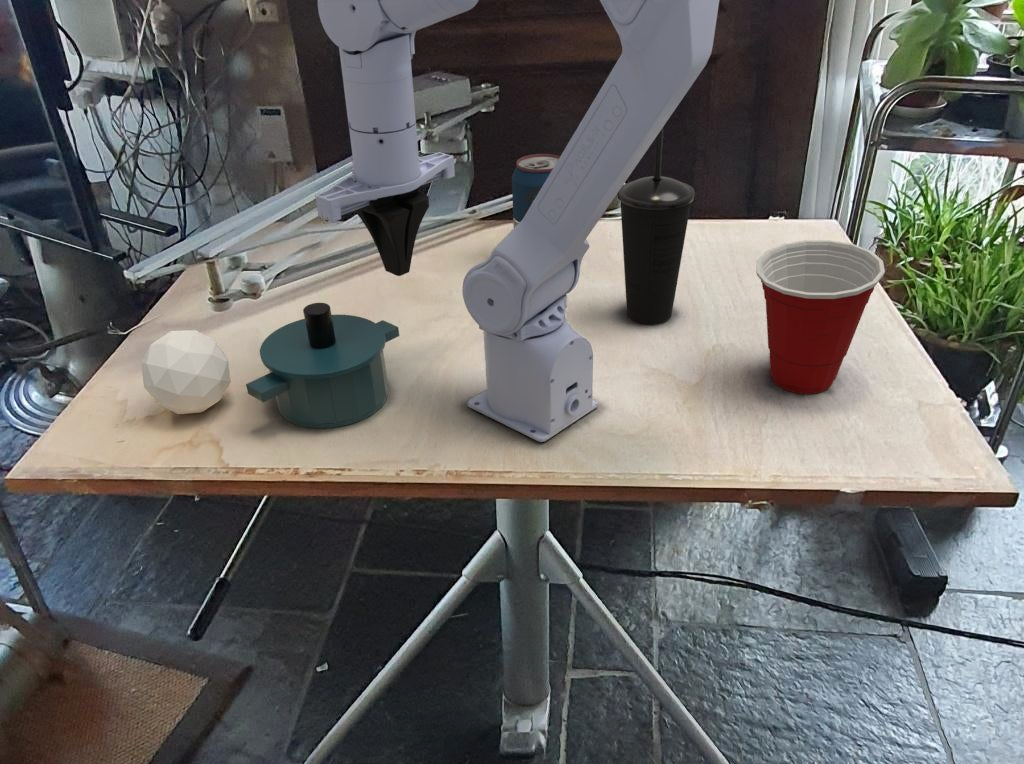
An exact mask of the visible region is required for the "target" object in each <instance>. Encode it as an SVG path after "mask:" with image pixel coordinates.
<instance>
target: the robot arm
mask: <svg viewBox="0 0 1024 764" xmlns="http://www.w3.org/2000/svg"><path fill="white" fill-rule="evenodd" d="M479 1H480V0H317V10H318V11H317V12H318V17H319V20H320V23H321V25H322V27H323V30H324V32H325V33H326V35H327V36H328V38H329V39H330V41H331V42H332V43H333V44H334V45H336V46H337V47H338V52H339V59H340V68H341V77H342V83H343V91H344V99H345V107H346V108H345V109H346V115H347V116H346V117H347V123H348V130H349V138H350V140H349V141H350V146H351V147H350V148H351V156H352V163H353V167H352V168H351V172H352V174H351V175H349V176H348V177H346V178H345V179H343V180H341V181H339V182H338V183H336V184H335V185H333V186H332V187H330V188H328V189H326V190H324V191H322V192H320V193H317V194H315V195H314V199H315V204H316V212H317V216H318V218H321V219H323V220H326V221H327V222H331V223H335V222H338V221H340V220H341V219H342V216H343V215H346V214H349V213H351V212H355V213H356V215H357V216H358V218H359V219H360V220H361V222H362V223H363V224H364V226H365V228H366V229H367V231H368V233H369V234H370V236H371V238H372V240H373V242H374V244H375V246H376V249H377V252H378V254H379V256H380V260H381V262H382V265H383V268H384V270H385V272H388V273H389V274H392V275H394V276H397V277H401V276H404V275H406V274H408V273H410V270H411V264H412V259H413V253H414V247H415V243H416V239H417V235H418V232H419V229H420V227H421V223H422V221H423V219H424V217H425V215H426V213H427V211H428V209H429V208H430V200H429V196H428V194H426V193H424V192H423V193H422V192H421V191H419V188H420V187H421V186H424V185H427V184H430V183H432V182H435V181H437V180H440V179H444V180H450V179H452V178H454V177H456V172H455V171H456V169H455V157H454V155H451V154H447V153H443V152H440V151H438V152H435V153H432V154H427V155H424V156H420V155H419V154H420V153H419V142H418V131H417V118H416V106H415V105H416V104H415V95H414V94H415V93H414V81H413V73H412V72H413V68H412V60H413V55H415V54H416V50H415V49H416V48H415V36H416V33H417V31H419V30H421V29H425V28H427V27H430V26H432V25H435V24H437V23H440V22H442V21H444V20H447V19H450V18H453V17H455V16H458V15H461V14H463V13H465V12H466V13H467V12H468V11H470V10H472V9H473V8H474V7H476V5H477V4H478V2H479ZM599 2H600V4H601V5H602V7H603V9H604V11H605V12H606V14H607V16H608V18H609V20H610V22H611V23H612V26H613V27H614V29H615V31H616V33H617V35H618V38H619V40H620V44H621V48H622V50H621V51H622V52H621V54H620V56H619V58H618V59H617V61H616V63H615V64H614V66H613V67H612V69H611V70H610V72H609V74H608V76H607V77H606V79H605V81H604V83H603V85H602V86H601V88H600V89H599V91H598V93H597V94H596V97H595V98H594V99H593V101H592V102H591V104H590V106H589V107H588V110H586V113H585V115H583V117H582V120H581V121H580V122H579V124H578V125H577V128H576V130H575V131H574V133H573V134H572V136H571V137H570V139H569V141H568V143H567V144H566V146H565V148H564V150H563V151H562V152H561V155H559V156H560V158H559V160H558V161H557V163H556V165H555V166H554V168H553V170H552V171H551V173H550V175H549V176H548V178H547V180H546V181H545V183H544V185H543V186H542V188H541V190H540V191H539V193H538V195H537V196H536V198H535V200H534V201H533V203H532V205H531V206H530V208H529V210H528V211H527V213H526V215H525V216H524V218H523V220H522V221H521V222H520V223H519V224H518V225H517V226H516V227H515V228H514V227H513V229H512V230H511V231H510V232H509V233H508V234H507V235H506V236H504V238H502V239H501V241H500V242H499V243H498V244H497V245H496V246H495V247H494V249H493V250H492V252H491V253H490V255H489V257H488V258H487V259H486V260H484V261H482V262H480V263H477V264H475V265H473V266H472V267H471V268H470V269H469V270H468V271H467V272H466V274H465V276H464V278H463V280H462V298H463V299H462V300H463V303H464V305H465V307H466V310H467V312H468V313H469V315H470V317H471V318H472V320H473V321H474V322H475V323H476V324H477V325H478V329H479V330H480V331H482V332H483V348H484V349H483V350H484V363H485V365H484V367H485V377H486V378H485V380H486V390H485V391H483V392H481V393H479V394H478V395H476V396H474V397H472V398H471V399H469V400H468V401H467V406H468V408H470V409H472V410H474V411H476V412H479V413H481V414H482V415H484V416H486V417H488V418H490V419H492V420H494V421H496V422H498V423H501V424H502V425H504V426H507V427H508V428H510V429H512V430H515V431H517V432H519V433H521V434H523V435H525V436H527V437H529V438H531V439H533V440H534V441H537V442H539V443H543V442H546V441H547V440H550V439H551V438H552V437H554V436H555V435H557V434H558V433H560V432H561V431H563V430H565V429H566V428H567V427H569V426H571V425H572V424H573V423H575V422H576V421H578V420H580V419H581V418H582V417H584V416H586V415H587V414H588V413H590V412H592V411H593V410H595V409H596V408H597V407H598V401H597V400H596V399H594V398H593V381H594V380H593V378H594V377H593V376H594V374H593V373H594V351H593V347H592V345H591V342H590V341H589V340H588V339H587V338H586V337H585V336H583V335H581V334H580V333H578V332H577V331H576V330H574V329H573V327H572V326H571V325H570V323H569V322H568V320H567V318H566V308H567V307H568V295H567V294H569V293H571V292H572V291H573V290H574V289H575V288H576V286H577V285H578V283H579V280H580V274H581V265H582V260H583V258H584V256H585V254H586V253H587V252H588V250H589V249H590V243H589V242H588V240H587V238H588V237H589V235H590V234H591V233H592V231H593V230H594V228H595V227H596V225H597V224H598V222H599V221H600V219H601V218H602V217H603V215H604V213H605V212H606V211H607V209H608V208H609V206H610V205H611V203H612V202H613V201H614V199H615V198H616V196H618V192H619V190H620V189H621V187H622V186H623V185H624V184H626V183H627V182H626V181H627V180H628V179H629V177H630V176H631V175H632V173H633V171H634V170H635V169H636V168H637V166H638V164H639V163H640V161H641V160H642V158H643V157H644V155H645V154H646V153H647V151H648V150H649V148H650V147H651V146H652V144H653V143H654V142H655V140H656V137H657V135H658V134H659V132H660V131H661V129H662V128H663V129H664V126H665V125H666V124H667V122H668V121H669V119H670V117H671V116H672V115H673V113H674V112H675V110H676V109H677V108H678V106H679V105H680V103H681V102H682V100H683V99H684V97H685V96H686V94H687V93H688V92H689V90H690V89H691V88H692V86H693V84H694V83H695V82H696V80H697V79H698V77H699V76H700V74H701V72H702V71H703V70H704V68H705V67H706V65H707V64H708V62H709V59H710V57H711V55H712V51H713V47H714V40H715V33H716V26H717V19H718V11H719V6H720V0H599Z"/></svg>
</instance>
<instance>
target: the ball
mask: <svg viewBox="0 0 1024 764" xmlns="http://www.w3.org/2000/svg"><path fill="white" fill-rule="evenodd" d="M141 372H142V384H143V388H144V389H145V390H146V391H147V392H148V394H149V395H150V396H151V398H153V400H154V401H155V402H156V403H157V404H158V405H160V406H162V407H163V408H165V409H167V410H169V411H171V412H172V413H174V414H176V415H185V414H186V415H188V414H197V413H198V414H199V413H200V414H201V413H203V412H205V411H206V410H208V409H209V408H210V407H212V406H213V405H215V404H217V403H218V402H219V401H221V400H222V398H223V396H224V394H226V393H225V392H226V391H227V389H228V388H229V386H230V385H231V383H232V381H231V373H230V365H229V358H228V357H227V355H226V354H225V352H224V351H223V349H222V348H221V346H220V345H219V344H218V342H217V341H216V340H214V339H213V338H211V337H209V336H207V335H206V334H204V333H201V331H198V330H197V329H194V330H193V329H192V330H191V329H190V330H170V331H168V333H165V334H164V335H162V336H161V337H159V338H158V339H157V340H155V341H154V342H152V343H150V345H149V347H148V349H147V351H146V353H145V354H144V356H143V358H142V360H141Z"/></svg>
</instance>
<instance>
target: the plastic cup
mask: <svg viewBox="0 0 1024 764" xmlns="http://www.w3.org/2000/svg"><path fill="white" fill-rule="evenodd" d="M755 273H756V276H757V277H758V278H759V280H760V283H761V285H762V286H761V287H762V290H763V296H764V300H765V313H766V314H765V315H766V328H767V332H766V333H767V349H768V350H769V374H770V378H771V380H772V381H773V383H774V384H775V385H776V386H778V387H779V388H781V389H783V390H785V391H788V392H791V393H794V394H803V395H804V394H805V395H811V394H820V393H822V392H824V391H827V390H829V388H830V387H831V386H832V385H833V383H834V381H835V380H836V379H837V377H838V373H839V371H840V368H841V367H842V364H843V361H844V358H845V357H846V356H847V354H848V351H849V349H850V347H851V344H852V341H853V338H854V336H855V334H856V331H857V329H858V327H859V324H860V321H861V319H862V316H863V314H864V311H865V309H866V306H867V305H868V303H869V301H870V299H871V296H872V294H873V292H874V290H875V288H876V286H877V284H878V283H880V281H881V280H882V278H883V277H884V275H885V273H886V270H885V264H884V261H883V259H881V258H880V257H879V256H878V255H876V253H874V252H873V250H870V249H867V248H865V247H863V246H859V245H857V244H855V243H850V242H844V241H837V240H831V239H804V240H799V241H793V242H787V243H783V244H780V245H778V246H775V247H773V248H771V249H768V250H766V251H765V252H764V253H763V254H762V255H761V256H760V257H759V258H757V259H756V263H755Z"/></svg>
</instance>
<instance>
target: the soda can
mask: <svg viewBox="0 0 1024 764" xmlns="http://www.w3.org/2000/svg"><path fill="white" fill-rule="evenodd" d="M560 156H561V155H557V154H553V153H536V154H535V153H533V154H528V155H525V156H522V157H520V158H518V159H517V160H516V163H515V164H516V167H515V169H514V171H513V173H512V175H511V197H512V219H513V221H512V222H513V223H512V224H513V229H514V228H515V227H516V226H517V225H518V224H519V223H520V222H521V221H522V220H523V218H524V216H525V215H526V213H527V211H528V210H529V208H530V206H531V205H532V203H533V201H534V200H535V198H536V196H537V195H538V193H539V191H540V190H541V188H542V186H543V185H544V183H545V181H546V180H547V178H548V176H549V175H550V173H551V171H552V170H553V168H554V166H555V165H556V163H557V161H558V160H559V158H560Z"/></svg>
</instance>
